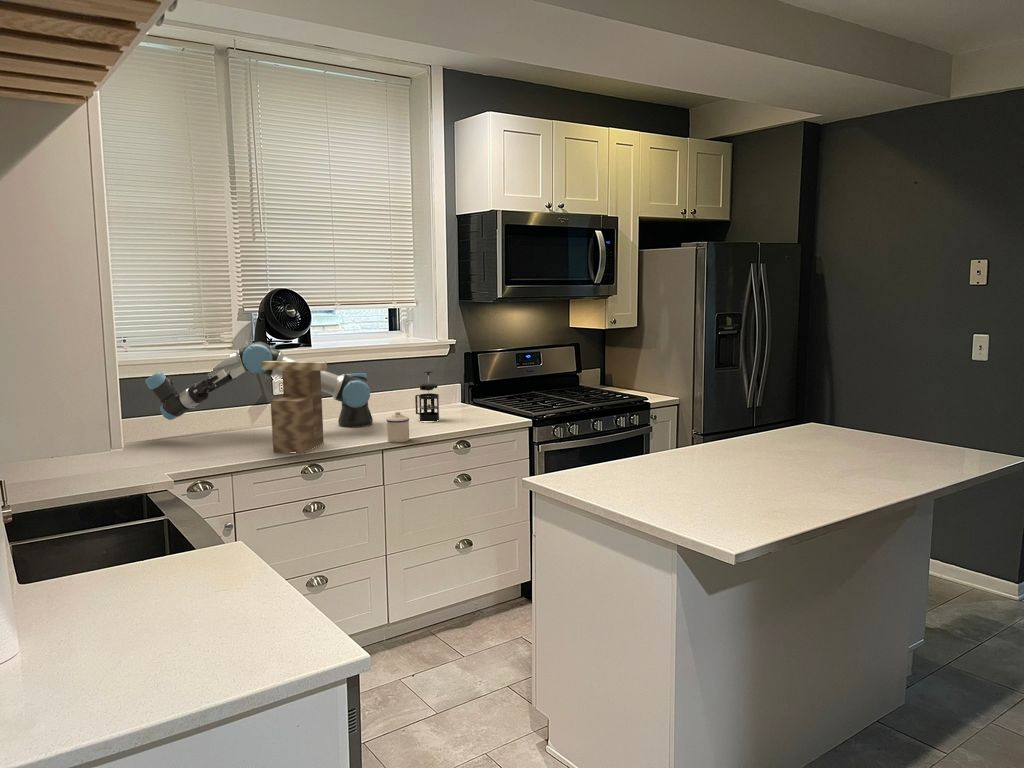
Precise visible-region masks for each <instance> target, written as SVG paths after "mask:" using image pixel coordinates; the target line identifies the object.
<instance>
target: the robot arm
mask: <svg viewBox="0 0 1024 768" xmlns="http://www.w3.org/2000/svg"><path fill="white" fill-rule="evenodd" d="M239 355H240V356H239ZM263 361H293V362H300V361H299V360H296V359H294V358H291V357H288V356H285V355H284V354H283V352H282V350H279V349H276V348H274V347H271V345H269V344H267V342H263V341H255V342H253V343H250V344H249V345H247V346H244V347H241V348H238V349H237V350H236V352H234V353H230V357H229V358H228V359H227V360H224V361H222V362H221V363H220V364H218V365H217V366H216V367H215V368H213V371H211V372H210V373H208V374H207V375H208V376H209V377H210V376H212V377H210V378H208V379H207V380H203V381H201V382H198V383H195V384H192V385H191V386H190V387H188V388H186V389H185V390H183V391H181V392H180V393H179V392H178V391H177V389H175V388H174V387H173V383H172V381H171V380H170V379H168V378H166V376H165V375H164V373H163V372H162V371H161V370H160V371H159V372H158V371H157V372H155V373H154V374H152V375H150V376H149V377H147V378H146V379H145V381H144V383H145V384H146V385H147V387H148V389H149V390H150V391H151V392H152V393H153V395H154V396H155V397H156V398H157V400H158V401H159V402H160V403H161V405H160V408H159V411H160V413H161V415H162V417H164V418H165V419H166V420H168V421H171V420H172V421H173V420H175V419H177V418H179V417H181V416H183V415H184V414H186V413H188V411H190V410H192V409H196V406H197V405H199V404H201V403H203V402H204V401H207V400H208V398H209V393H212V392H213V391H217V390H218V389H219V388H221V387H223V386H224V385H227V384H228V383H229V384H230V382H232V381H235V380H236V379H237V377H239V376H240V375H242V374H243V373H245V372H247V371H248V372H252V373H253V374H261V375H264V376H266V377H270V378H273V377H275V376H278V377H280V378H283V375H282V371H283V370H262V362H263ZM320 372H321V392H324V393H325V394H329V395H331V396H332V398H333V399H334V400H335V401H338V402H341V411H340V413H339V417H338V426H340V427H344V428H359V427H367V425H368V426H371V425H373V424H374V422H373V419H374V418H373V416H372V414H371V410H370V408H369V400H370V397H371V388H370V387H369V385H368V374H366V373H342V374H340V375H338V374H335V373H332V372H329V371H327V370H324V371H320ZM165 400H166V401H165Z"/></svg>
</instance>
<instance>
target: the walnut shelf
mask: <svg viewBox="0 0 1024 768" xmlns="http://www.w3.org/2000/svg"><path fill="white" fill-rule="evenodd" d="M282 375H283V377H282V390H283V391H282V393H283V396H280V397H278V398H274V399H272V400H270V413H271V416H270V417H271V418H270V419H271V432H272V435H271V436H272V450H273V451H272V453H273V452H296V453H303V454H305V453H307V452H309V451H311V450H313V449H315V448H317V447H319V446H321V445H323V444H324V443H325V442H324V440H325V439H324V421H323V420H324V419H323V417H324V416H323V399H322V397H323V395H322V391H321V372H320V371H315V370H283V371H282ZM322 443H323V444H322ZM320 444H321V445H320ZM318 445H319V446H318ZM316 446H317V447H316ZM314 447H315V448H314ZM312 448H313V449H312ZM310 449H311V450H310ZM308 450H309V451H308ZM306 451H307V452H306ZM304 452H305V453H304Z"/></svg>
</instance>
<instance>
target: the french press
mask: <svg viewBox="0 0 1024 768" xmlns="http://www.w3.org/2000/svg"><path fill="white" fill-rule="evenodd" d="M433 372H434V371H432V370H426V371H423V373H426V374H427V375H426V376H427V381H428V382H423V383H419V384H418V386H419V390H421V391H428V393H421V394H416V395H414V399H415V415H418V416H419V419H420V421H437V420H439V419H440V407H439V406H440V404H439V403H440V400H439V398H440V395H439V394H438V393H430V391H433V390H434V389H437V388H438V386H439V384H438V383H434V382H430V374H432V373H433ZM422 400H423V405H422ZM428 400H430V403H428ZM435 400H436V405H435ZM418 404H419V406H418ZM418 407H419V411H418ZM422 410H423V412H422ZM435 410H436V411H435ZM420 421H419V422H420Z"/></svg>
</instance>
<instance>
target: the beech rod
mask: <svg viewBox="0 0 1024 768" xmlns="http://www.w3.org/2000/svg"><path fill="white" fill-rule="evenodd" d="M327 364H328V361H299V362H293V361H263V362H262V370H315V371H327V370H328V365H327Z"/></svg>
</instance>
